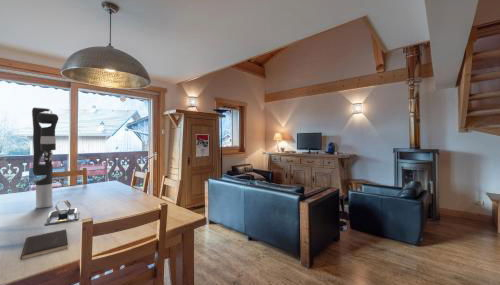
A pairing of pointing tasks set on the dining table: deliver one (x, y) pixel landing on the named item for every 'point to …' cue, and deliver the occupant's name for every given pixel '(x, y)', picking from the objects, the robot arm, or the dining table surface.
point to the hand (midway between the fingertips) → (48, 167)
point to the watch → (63, 213)
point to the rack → (54, 219)
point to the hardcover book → (44, 243)
